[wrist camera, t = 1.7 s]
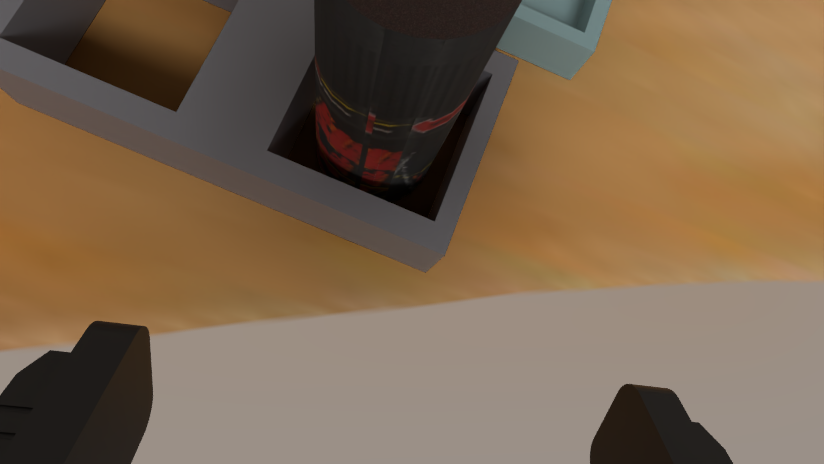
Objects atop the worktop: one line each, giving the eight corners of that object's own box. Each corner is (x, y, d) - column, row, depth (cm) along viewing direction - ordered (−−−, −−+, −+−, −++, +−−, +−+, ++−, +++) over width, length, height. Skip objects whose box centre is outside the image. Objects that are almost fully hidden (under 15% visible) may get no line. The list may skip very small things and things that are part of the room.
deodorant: (309, 98, 30) (300, -158, 15) (422, 91, 31) (514, -155, 16) (323, 209, 28) (327, 46, 14) (439, 197, 29) (555, 34, 15)
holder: (490, 103, 31) (518, 60, 27) (425, 272, 28) (444, 255, 24) (121, -59, 30) (88, -131, 26) (17, 102, 27) (-40, 52, 23)
